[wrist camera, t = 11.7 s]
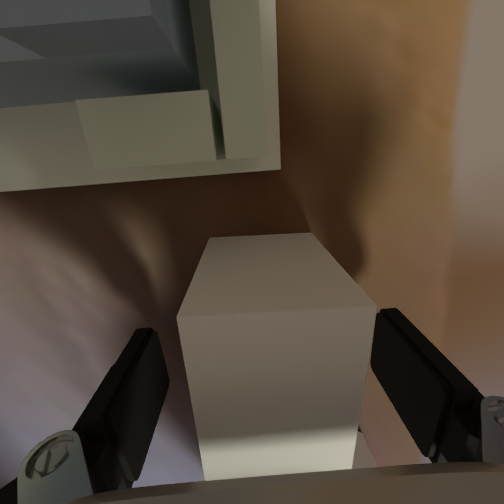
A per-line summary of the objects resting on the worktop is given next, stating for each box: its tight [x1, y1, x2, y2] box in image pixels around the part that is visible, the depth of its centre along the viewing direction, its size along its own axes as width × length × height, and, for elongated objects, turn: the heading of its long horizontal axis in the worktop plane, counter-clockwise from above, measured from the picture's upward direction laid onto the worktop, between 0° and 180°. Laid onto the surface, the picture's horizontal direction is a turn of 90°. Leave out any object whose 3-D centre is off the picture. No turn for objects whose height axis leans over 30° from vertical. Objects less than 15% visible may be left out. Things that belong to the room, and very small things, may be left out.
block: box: [176, 233, 377, 481], centre depth 10 cm, size 9×4×6 cm, turn 2°
